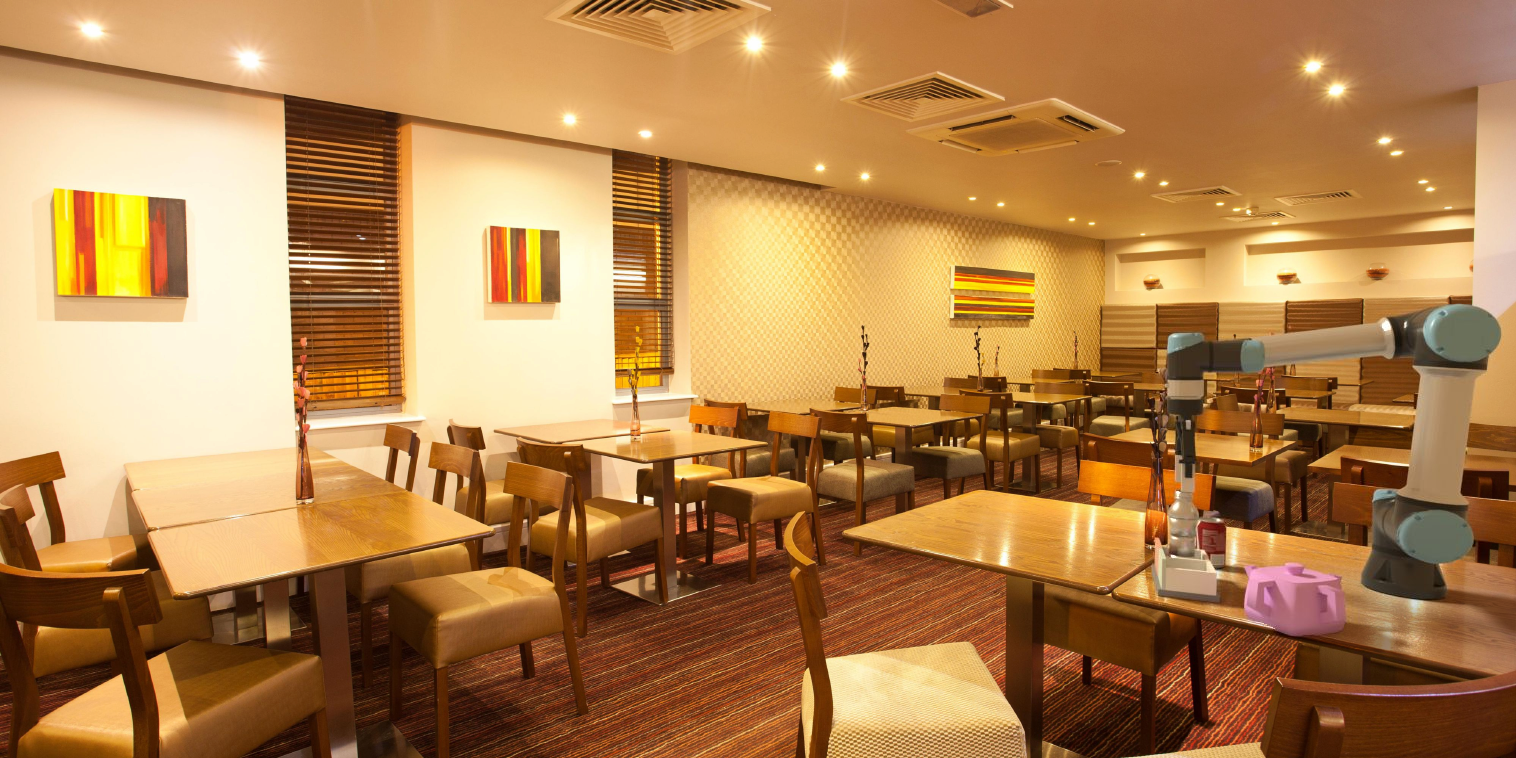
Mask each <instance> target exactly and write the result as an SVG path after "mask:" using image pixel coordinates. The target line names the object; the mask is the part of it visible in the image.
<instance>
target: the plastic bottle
mask: <svg viewBox="0 0 1516 758" xmlns="http://www.w3.org/2000/svg"><path fill="white" fill-rule="evenodd" d="M1173 498H1174V500H1175V501H1174V502H1173V503H1172V504H1170V505H1171V506H1169V508H1168V511H1167V517H1168V524H1169V544H1168V547H1169V551H1168V552H1169V553H1168V555H1167V556H1168V557H1178V558H1189V559H1197V557H1196V548H1195V536H1196V528H1197V523H1198V521H1199V518H1200V517H1199V515H1200V514H1199V510H1198V509H1197V506H1195V504H1194V503H1193V502H1192V501H1193V499H1194V497H1193V492H1181V489H1177V490H1176V489H1175V490H1174V497H1173Z"/></svg>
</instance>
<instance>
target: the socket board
mask: <svg viewBox="0 0 1516 758" xmlns="http://www.w3.org/2000/svg"><path fill="white" fill-rule="evenodd" d="M1154 545H1155V546H1154V564H1151V569H1150V570H1151V574H1152V578H1153V581H1154V586H1155V590H1156V595H1157V597H1158V596H1159V597H1164V598H1174V599H1183V600H1190V601H1191V600H1192V601H1201V602H1210V603H1218V604H1220V602H1221V600H1220V598H1221V596H1220V594H1219V592H1218V589H1217V583H1218V582H1217V580H1218V579H1217V576H1218V575H1217V571H1216V569H1214V567H1213V565H1212V564H1211V562H1210V560H1209V558H1208V556H1207V554H1206V553H1205V551H1204V550H1198V549H1196V557H1197V559H1189V558H1178V557H1168V556H1167V555H1168V553H1169V552H1168V551H1169V546H1163V545H1162V543H1161V540H1160V538H1159V537H1155V538H1154Z"/></svg>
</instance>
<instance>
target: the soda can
mask: <svg viewBox="0 0 1516 758" xmlns="http://www.w3.org/2000/svg"><path fill="white" fill-rule="evenodd" d="M1224 522H1225V521H1224V520H1223V519H1222V518H1218V517H1212V516H1200V517H1199V518H1198V523H1197V528H1196V536H1195V548H1196V549H1198V550H1204V551H1205V553H1206V554H1207V556H1208V558H1209V560H1210V562H1211V564H1212V565H1213V567H1214V569H1215V570H1217V569H1221V568H1224V567H1225V566H1226V564H1227V563H1226V560H1227V557H1226V555H1227V526H1226V525H1225V523H1224Z"/></svg>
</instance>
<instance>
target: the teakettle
mask: <svg viewBox="0 0 1516 758" xmlns="http://www.w3.org/2000/svg"><path fill="white" fill-rule="evenodd" d="M1284 564H1285V565H1279V566H1278V565H1277V566H1276V565H1275V566H1265V567H1257V565H1249V564H1248V565H1243V566H1244V570H1245V572H1246V575H1247V577H1248V581H1247V585H1246V589H1245V595H1244V603H1243V605H1244V607H1243V608H1244V613H1245V616H1246V618H1247V619H1248V618H1249V619H1248V620H1250V619H1252V620H1254V621H1257V622H1262V623H1264V624H1267V625H1269V626H1271V627H1273V628H1275V629H1276V630H1275V631H1276V632H1278V633H1282V634H1284V635H1287V636H1290V637H1304V636H1303V635H1314V636H1322V635H1323V636H1325V635H1329V633H1330V634H1334V633H1338V632H1339V631H1340V632H1341V630H1342V631H1343V630H1344V627H1345V624H1346V620H1347V613H1346V612H1347V611H1346V599H1345V598H1346V597H1345V591H1344V590H1343V589H1342V584H1341V581H1342V578H1343V577H1342V575H1339V574H1333V573H1328V574H1325V573H1323V572H1319V571H1316V570H1312V569H1310V568H1306V566H1305V565H1304V564H1301V563H1298V562H1286V563H1284ZM1252 620H1251V621H1252ZM1254 621H1253V622H1254Z"/></svg>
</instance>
